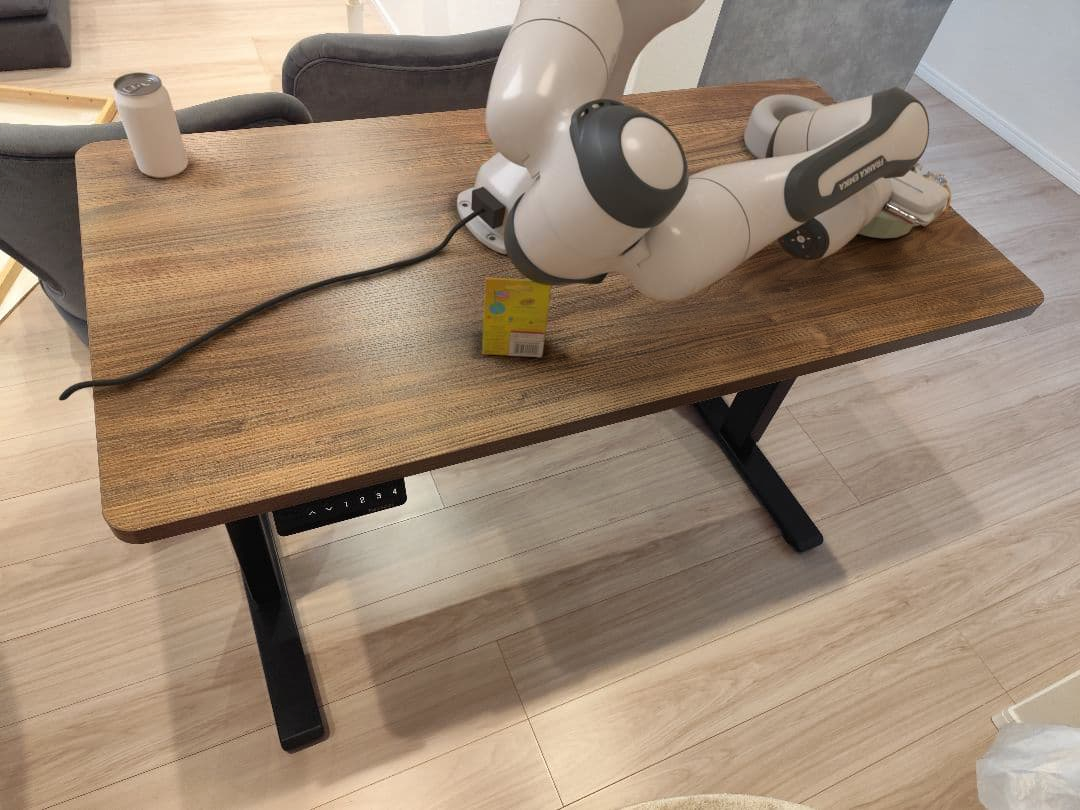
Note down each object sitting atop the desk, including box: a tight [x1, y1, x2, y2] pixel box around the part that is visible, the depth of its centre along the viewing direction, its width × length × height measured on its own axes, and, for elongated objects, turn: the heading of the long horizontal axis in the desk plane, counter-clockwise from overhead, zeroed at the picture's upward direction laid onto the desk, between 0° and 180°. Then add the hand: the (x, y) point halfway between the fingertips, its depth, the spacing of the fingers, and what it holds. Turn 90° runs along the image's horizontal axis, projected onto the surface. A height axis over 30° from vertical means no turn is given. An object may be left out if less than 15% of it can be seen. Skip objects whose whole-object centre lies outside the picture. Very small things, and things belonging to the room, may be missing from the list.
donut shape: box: [743, 93, 826, 160], centre depth 121 cm, size 15×15×7 cm
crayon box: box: [481, 276, 553, 359], centre depth 84 cm, size 7×3×12 cm, turn 91°
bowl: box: [856, 211, 915, 239], centre depth 114 cm, size 15×15×4 cm
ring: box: [922, 170, 952, 222], centre depth 112 cm, size 7×3×8 cm, turn 29°
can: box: [112, 71, 189, 179], centre depth 98 cm, size 6×6×12 cm
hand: (894, 157), depth 108 cm, fingers closed on candle, 5 cm apart
